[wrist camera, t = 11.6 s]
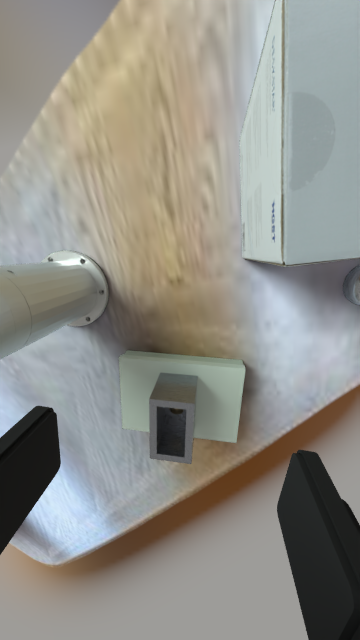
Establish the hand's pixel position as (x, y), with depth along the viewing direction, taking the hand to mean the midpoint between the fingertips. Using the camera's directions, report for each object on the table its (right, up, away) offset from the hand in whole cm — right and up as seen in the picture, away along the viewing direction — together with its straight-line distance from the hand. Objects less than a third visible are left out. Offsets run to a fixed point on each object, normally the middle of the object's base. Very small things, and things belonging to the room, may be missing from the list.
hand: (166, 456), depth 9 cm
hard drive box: (+13, +22, +23) cm, 34 cm away
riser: (+1, -7, +33) cm, 34 cm away
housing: (0, -8, +29) cm, 30 cm away
